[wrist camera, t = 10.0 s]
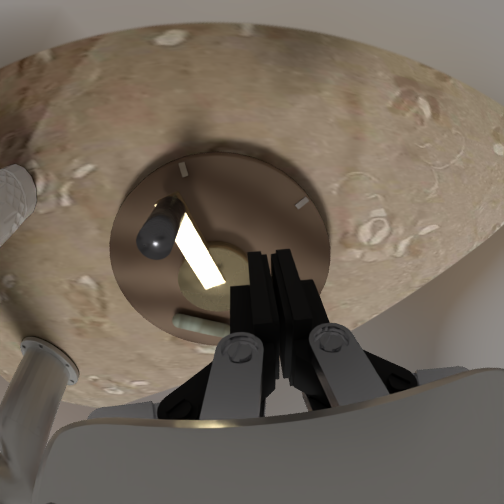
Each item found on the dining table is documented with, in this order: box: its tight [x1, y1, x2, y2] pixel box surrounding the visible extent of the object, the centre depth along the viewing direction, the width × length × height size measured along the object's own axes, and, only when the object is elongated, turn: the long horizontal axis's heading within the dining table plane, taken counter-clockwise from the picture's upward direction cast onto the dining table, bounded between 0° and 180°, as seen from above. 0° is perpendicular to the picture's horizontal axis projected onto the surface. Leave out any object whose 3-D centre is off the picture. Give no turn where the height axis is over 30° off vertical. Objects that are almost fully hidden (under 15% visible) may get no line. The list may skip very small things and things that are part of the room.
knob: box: [136, 190, 250, 312], centre depth 23 cm, size 13×7×7 cm, turn 22°
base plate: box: [110, 152, 330, 346], centre depth 28 cm, size 22×22×4 cm
